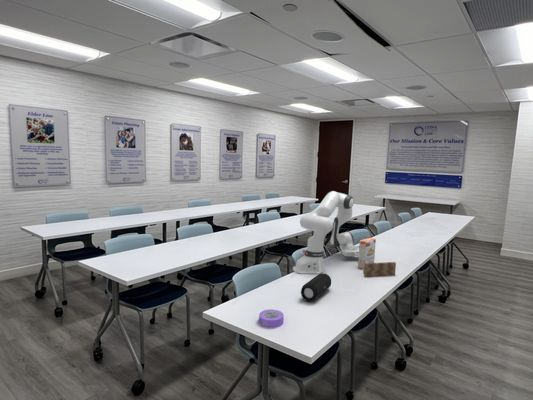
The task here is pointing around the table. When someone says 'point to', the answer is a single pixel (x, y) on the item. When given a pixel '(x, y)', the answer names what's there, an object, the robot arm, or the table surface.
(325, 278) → the portable speaker
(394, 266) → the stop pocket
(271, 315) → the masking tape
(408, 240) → the table surface
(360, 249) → the cracker box
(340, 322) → the table surface
